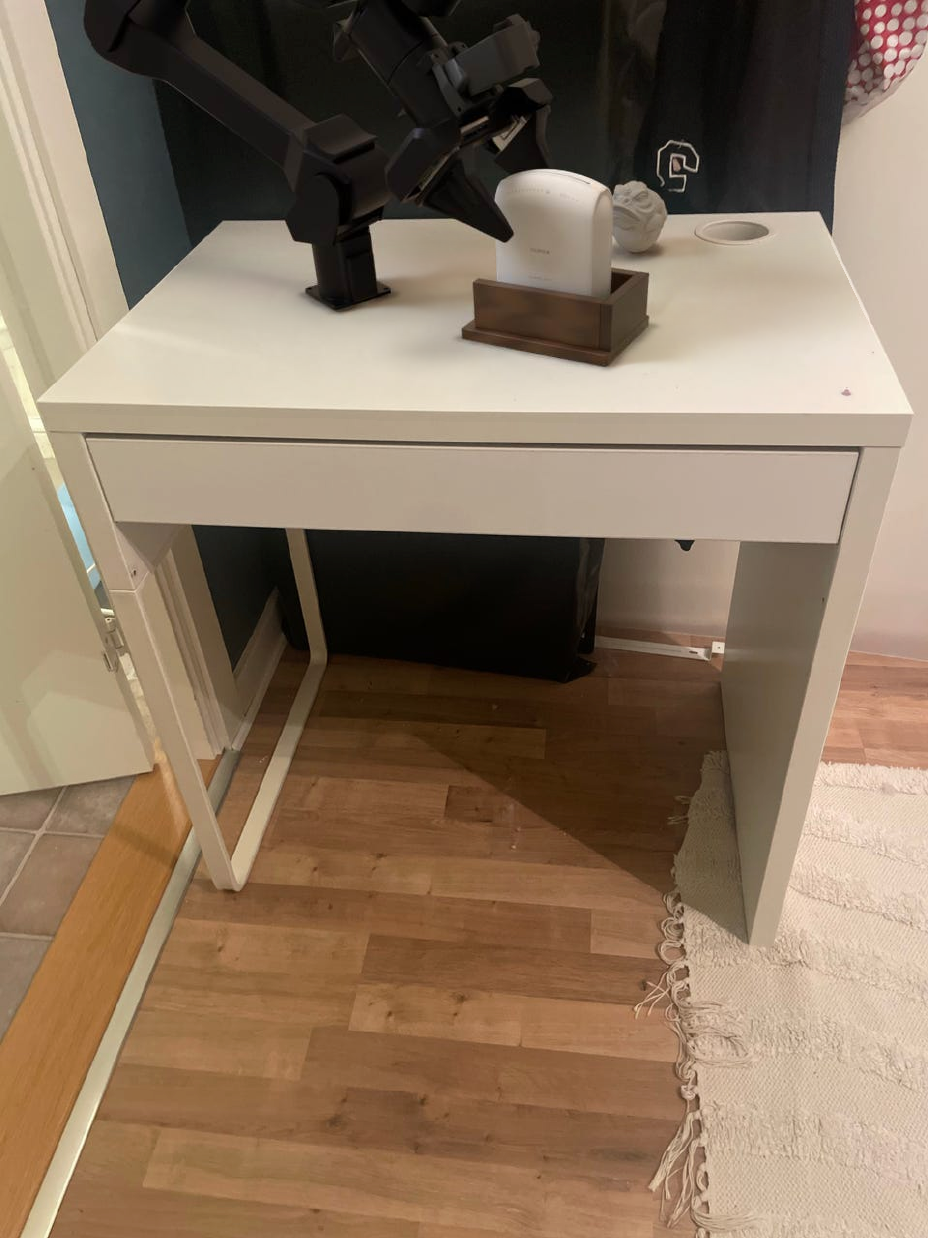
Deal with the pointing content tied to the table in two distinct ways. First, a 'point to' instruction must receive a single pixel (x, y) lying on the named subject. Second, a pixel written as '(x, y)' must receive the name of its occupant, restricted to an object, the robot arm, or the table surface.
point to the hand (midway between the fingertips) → (536, 221)
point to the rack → (561, 318)
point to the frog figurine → (637, 216)
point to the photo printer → (556, 232)
